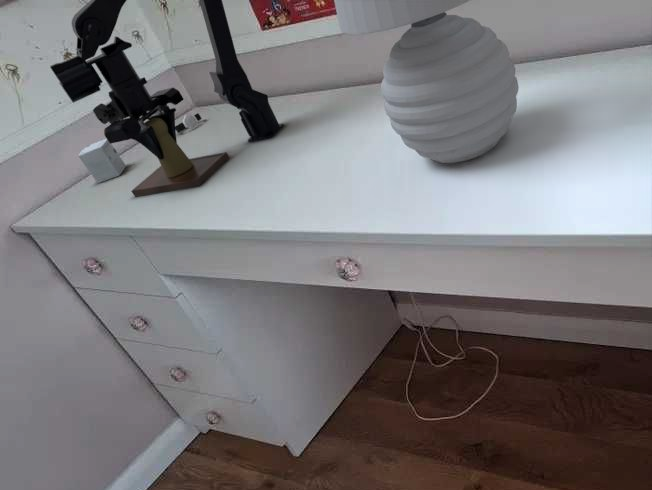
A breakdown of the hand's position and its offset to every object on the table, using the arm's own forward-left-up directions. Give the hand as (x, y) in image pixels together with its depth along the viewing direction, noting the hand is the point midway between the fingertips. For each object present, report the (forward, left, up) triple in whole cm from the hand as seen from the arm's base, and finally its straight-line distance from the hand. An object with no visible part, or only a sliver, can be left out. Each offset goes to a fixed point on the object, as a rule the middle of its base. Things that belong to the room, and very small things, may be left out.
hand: (168, 153), depth 136 cm
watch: (+20, -31, -6) cm, 37 cm away
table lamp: (-68, +8, -6) cm, 69 cm away
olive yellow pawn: (0, 0, -4) cm, 4 cm away
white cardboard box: (+29, -9, -6) cm, 31 cm away
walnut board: (0, 0, -6) cm, 6 cm away
